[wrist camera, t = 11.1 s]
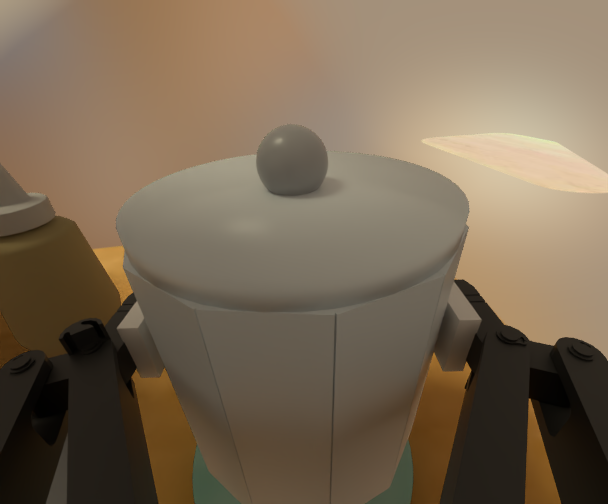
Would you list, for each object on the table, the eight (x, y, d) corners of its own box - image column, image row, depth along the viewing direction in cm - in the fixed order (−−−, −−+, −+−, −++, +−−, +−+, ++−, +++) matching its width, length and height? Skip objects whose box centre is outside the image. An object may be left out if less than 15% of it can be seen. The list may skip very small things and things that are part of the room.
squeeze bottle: (130, 358, 27) (29, 157, 18) (21, 391, 24) (-163, 176, 15) (136, 304, 33) (64, 136, 24) (50, 325, 31) (-66, 146, 22)
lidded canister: (158, 421, 15) (14, 141, 8) (287, 304, 23) (271, 104, 16) (344, 606, 10) (403, 243, 3) (433, 371, 18) (510, 111, 10)
